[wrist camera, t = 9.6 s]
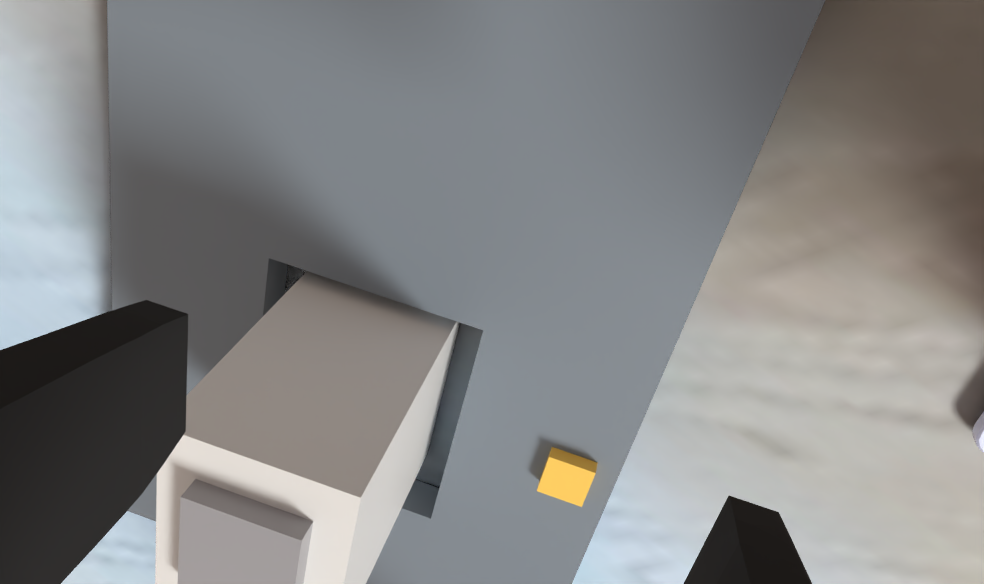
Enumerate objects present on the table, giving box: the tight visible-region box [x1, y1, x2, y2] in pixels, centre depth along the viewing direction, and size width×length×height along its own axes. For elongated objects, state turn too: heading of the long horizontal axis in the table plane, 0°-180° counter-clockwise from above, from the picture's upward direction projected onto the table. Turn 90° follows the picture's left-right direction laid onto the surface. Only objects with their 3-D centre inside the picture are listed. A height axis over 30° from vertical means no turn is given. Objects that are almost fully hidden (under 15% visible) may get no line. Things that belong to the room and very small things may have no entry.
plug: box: [155, 271, 460, 584], centre depth 19 cm, size 4×5×8 cm
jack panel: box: [107, 0, 825, 584], centre depth 17 cm, size 14×30×2 cm, turn 167°
